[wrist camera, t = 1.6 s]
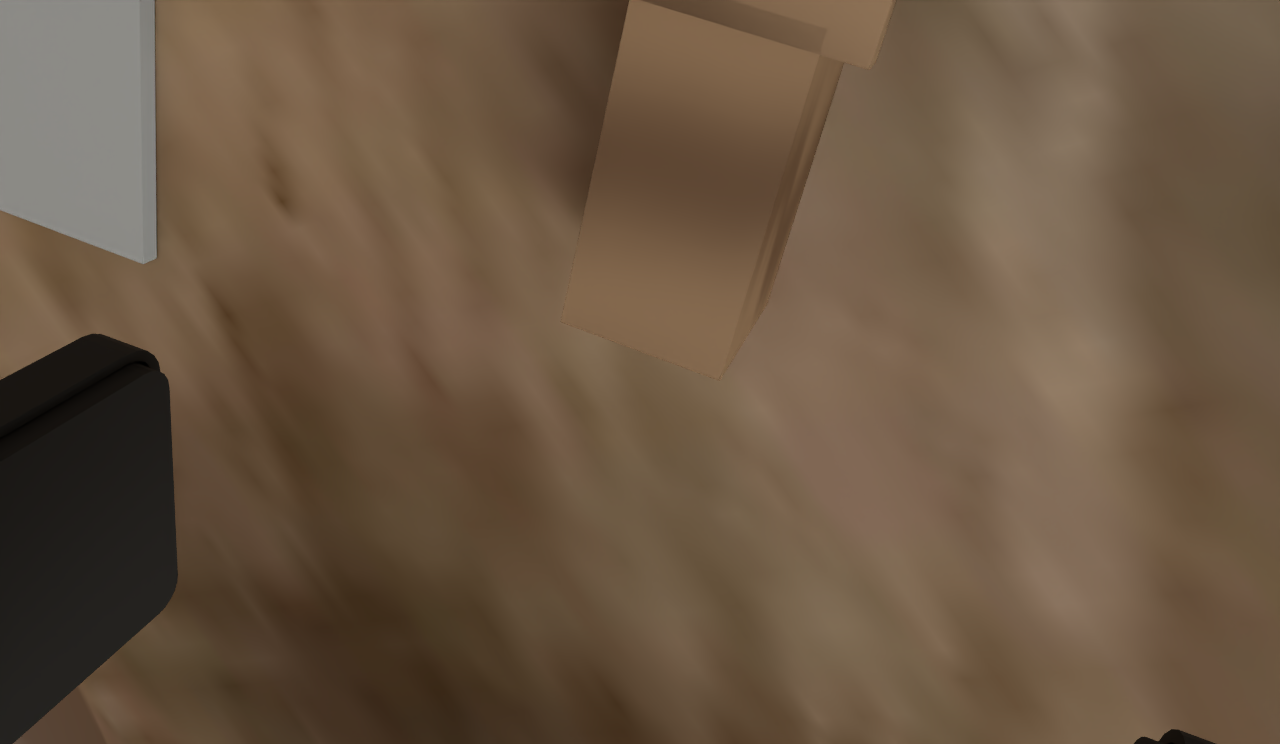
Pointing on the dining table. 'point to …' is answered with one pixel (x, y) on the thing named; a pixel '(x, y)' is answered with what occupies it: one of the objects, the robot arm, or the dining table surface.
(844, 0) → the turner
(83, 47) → the rest
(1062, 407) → the dining table surface
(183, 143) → the dining table surface
